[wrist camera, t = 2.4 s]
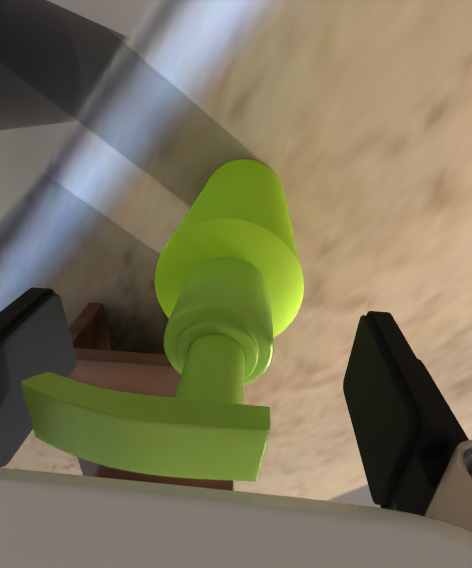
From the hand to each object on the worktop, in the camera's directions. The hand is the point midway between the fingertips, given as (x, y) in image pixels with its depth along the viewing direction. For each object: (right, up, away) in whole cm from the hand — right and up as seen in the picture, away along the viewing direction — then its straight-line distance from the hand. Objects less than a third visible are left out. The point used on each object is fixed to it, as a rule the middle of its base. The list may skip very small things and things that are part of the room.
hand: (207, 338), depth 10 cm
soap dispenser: (+1, +8, +14) cm, 16 cm away
